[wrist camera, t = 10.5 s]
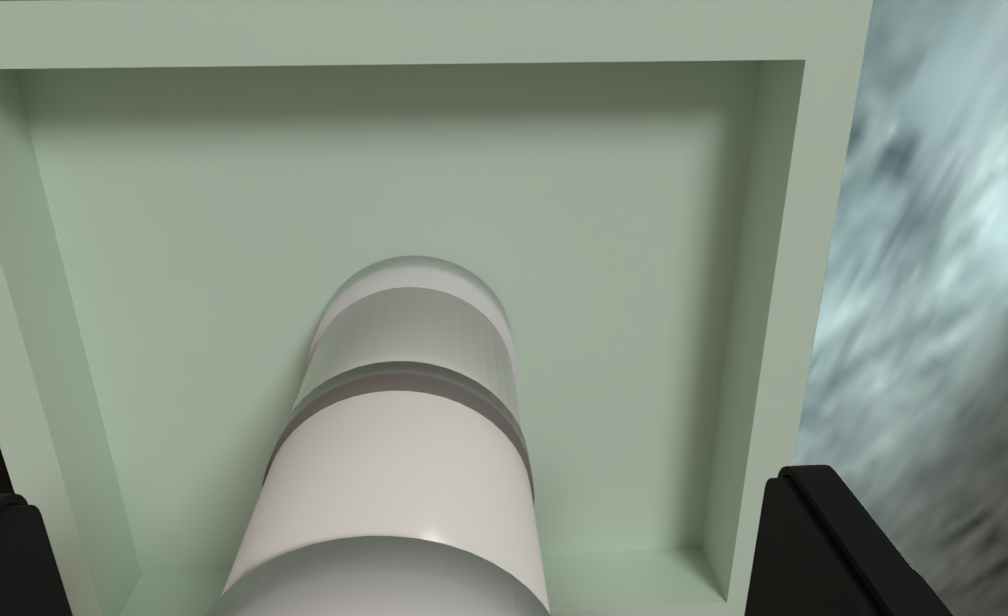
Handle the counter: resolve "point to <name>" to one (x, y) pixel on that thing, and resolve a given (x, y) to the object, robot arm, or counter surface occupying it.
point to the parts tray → (420, 232)
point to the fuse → (398, 462)
